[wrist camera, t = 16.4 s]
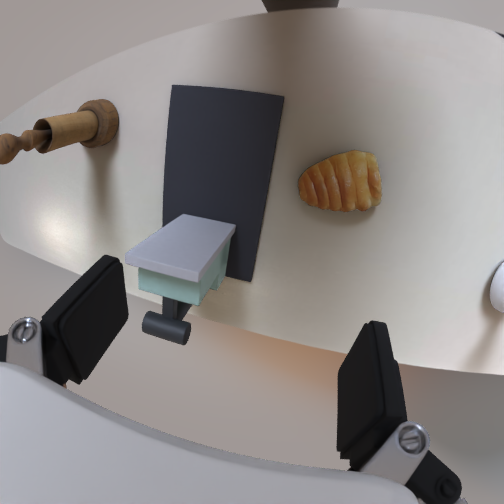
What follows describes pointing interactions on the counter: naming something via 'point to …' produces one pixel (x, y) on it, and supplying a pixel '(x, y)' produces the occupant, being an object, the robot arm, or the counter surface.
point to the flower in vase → (498, 289)
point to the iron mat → (221, 163)
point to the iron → (180, 270)
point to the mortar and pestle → (65, 131)
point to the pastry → (342, 182)
